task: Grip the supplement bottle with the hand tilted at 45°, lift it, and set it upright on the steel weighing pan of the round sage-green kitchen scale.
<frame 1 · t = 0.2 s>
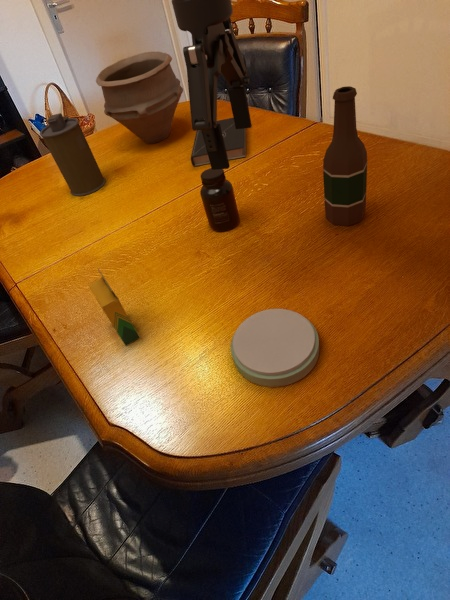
hand: (233, 146, 66), 21 cm above the table, tool pointing down, fingers open, 13 cm apart
book: (220, 145, 117), on the table
beer bottle: (345, 216, 81), on the table
scale: (275, 350, 61), on the table
canister: (88, 186, 117), on the table
crayon box: (126, 331, 71), on the table
planter: (157, 138, 132), on the table
supplement bottle: (224, 223, 88), on the table
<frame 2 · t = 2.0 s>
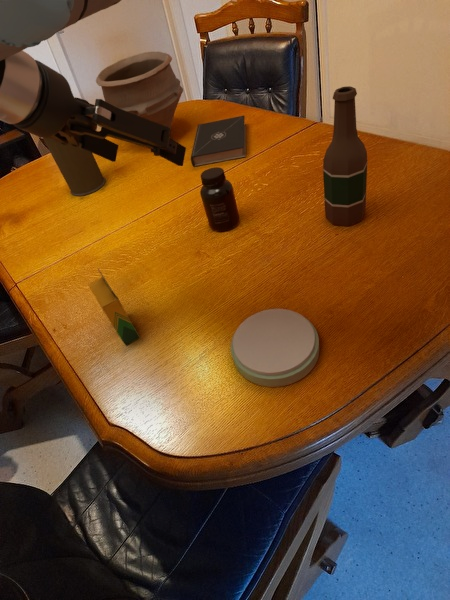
hand: (147, 155, 63), 24 cm above the table, tool tilted 45°, fingers open, 13 cm apart
nothing on the table moved.
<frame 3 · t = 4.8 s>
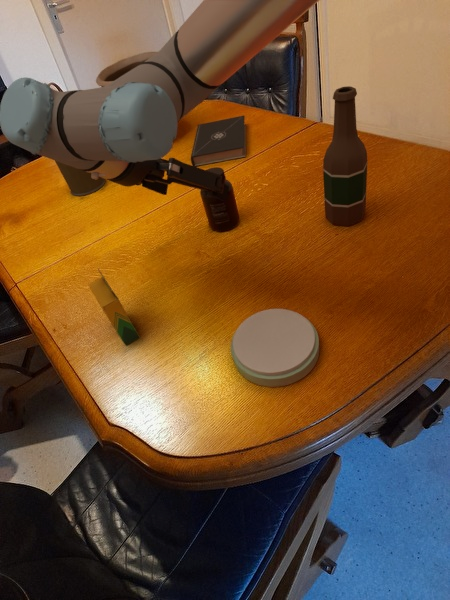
hand: (194, 190, 76), 12 cm above the table, tool tilted 45°, fingers open, 13 cm apart
nothing on the table moved.
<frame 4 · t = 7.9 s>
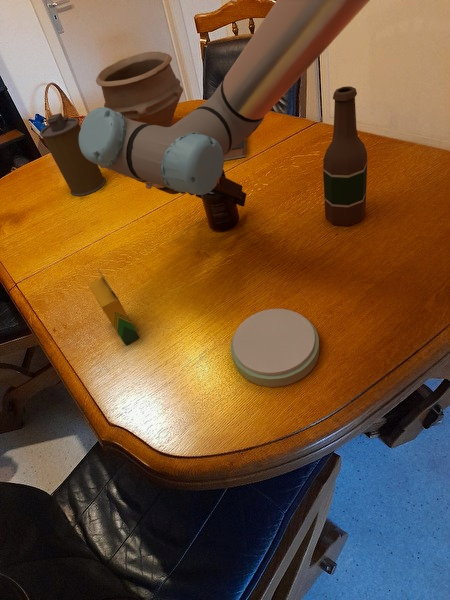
hand: (228, 198, 87), 4 cm above the table, tool tilted 45°, fingers closed on supplement bottle, 7 cm apart
supplement bottle: (224, 223, 88), on the table, touching gripper
everything else where it was.
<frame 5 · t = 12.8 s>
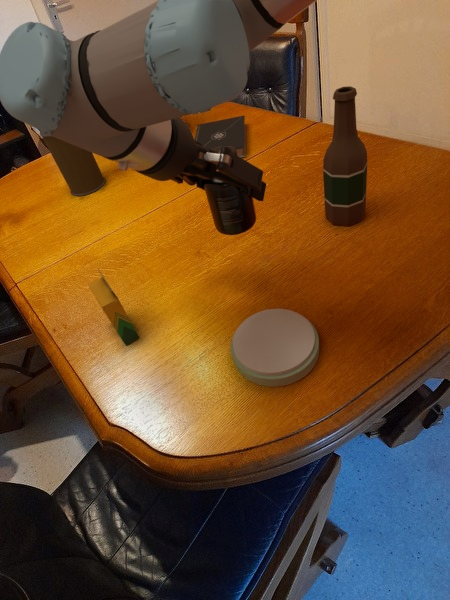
hand: (241, 190, 64), 16 cm above the table, tool tilted 45°, fingers closed on supplement bottle, 7 cm apart
supplement bottle: (236, 225, 65), point 12 cm above the table, touching gripper
everything else where it was.
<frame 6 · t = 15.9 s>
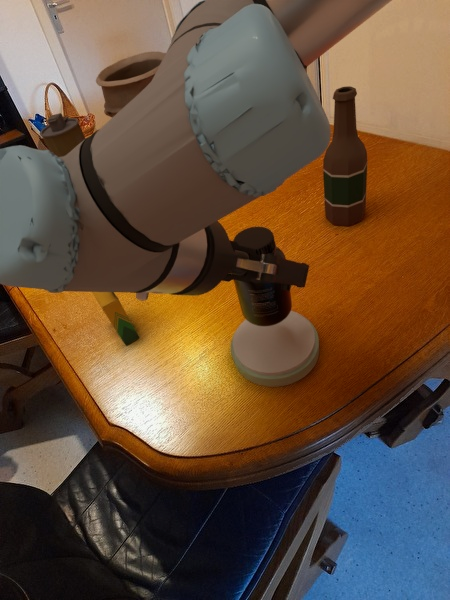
hand: (273, 270, 54), 13 cm above the table, tool tilted 45°, fingers closed on supplement bottle, 7 cm apart
supplement bottle: (267, 310, 55), point 9 cm above the table, touching gripper
everything else where it was.
when the fingers open (7 cm above the table, at t = 18.0 s): supplement bottle stays where it is, resting on scale.
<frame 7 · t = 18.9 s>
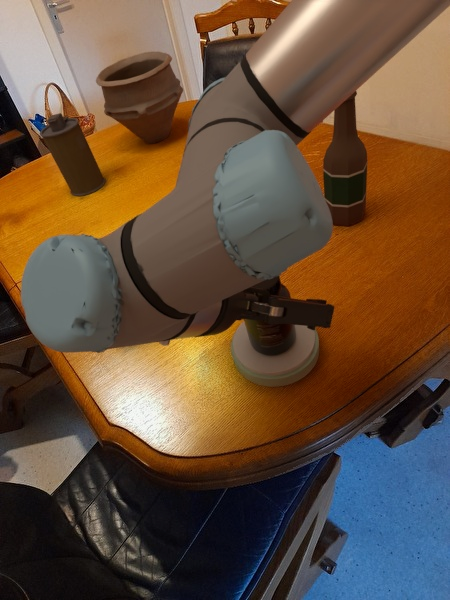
hand: (274, 299, 56), 9 cm above the table, tool tilted 45°, fingers open, 13 cm apart
supplement bottle: (273, 339, 59), point 3 cm above the table, touching scale
everything else where it was.
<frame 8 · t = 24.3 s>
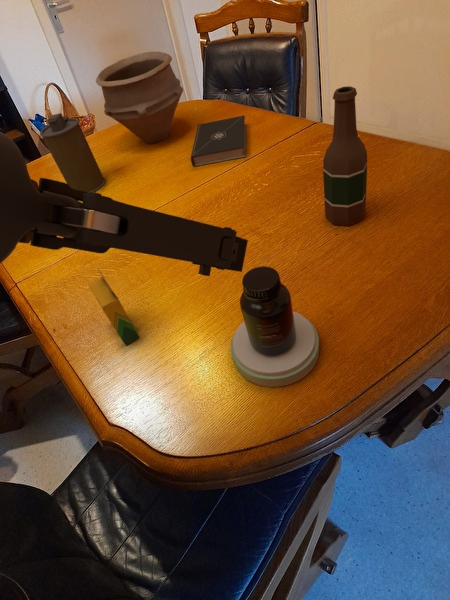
hand: (176, 244, 37), 28 cm above the table, tool tilted 45°, fingers open, 13 cm apart
nothing on the table moved.
at the end: supplement bottle inside the target area on the scale (0.1 cm from its centre), point 2.6 cm above the scale's base; supplement bottle tilted 0°; the gripper is holding nothing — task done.
